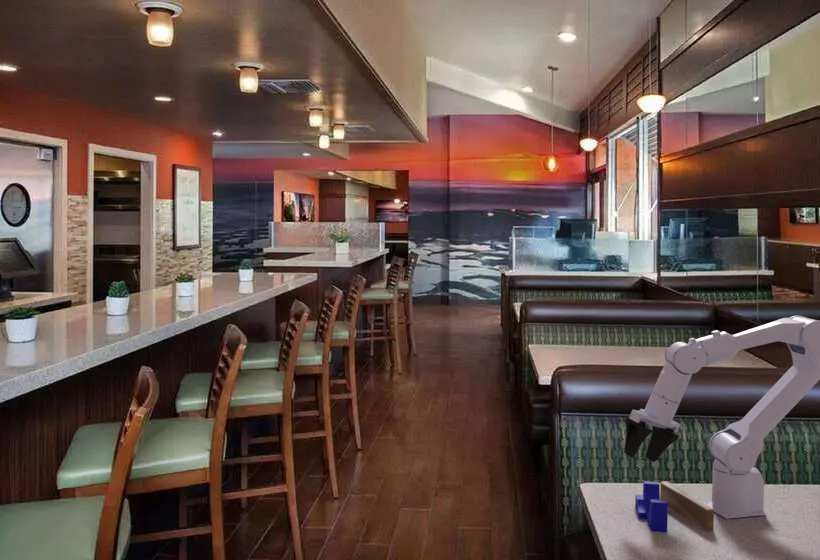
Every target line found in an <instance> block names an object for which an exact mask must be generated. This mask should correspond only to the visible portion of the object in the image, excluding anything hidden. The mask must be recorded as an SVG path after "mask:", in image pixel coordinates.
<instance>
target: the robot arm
mask: <svg viewBox="0 0 820 560" xmlns="http://www.w3.org/2000/svg"><path fill="white" fill-rule="evenodd" d="M710 333H711V334H710V335H705V336H702V337H699V338H694V337H691V338H688V342H683V341H677V342H674V343H672V344H671V345H670V346H669V347H668V348H667V349H664V359H665V360H664V361H665V362H664V365H663V368H662V369H661V371H660V373H659V376H658V378H657V381H656V382H655V385H654V387H653V389H652V391H651V394H650V396H649V398H648V401H647V403H646V405H645V408H644V409H643V408H640V409H639V410H636V409H632V410H631V413H630V414H629V416H626V418H625V419H624V420H625V421H624V422H625V429H626V432H625V433H626V434H625V435H626V437H625V443H624V449H623V453H624V454H625V455H626V456H629V457H630V458H634V457H636V454H637V453H638V451H639V449H640V448H641V445H642V444H643V442H644V441H645V440H646V439H647V437H648V436H649V435H650V434H651V435H650V436H651V437H650V441H649V444H648V448H647V450H646V454H645V458H646V459H647V460H649V461H651V462H652V463H653V462H654V463H655V462H657V460H658V459H659V458H660V457H661V455H663V453H664V452H665V450H666V449H667V448H668V447H669V446H670V445H673V443H675V442H676V441H678V439H679V438H680V436H679V435H678V434H677V433H678V432H679V429H680V427H681V424H680V423H678V422H676V421H675V420H674V418H675V414H676V412H677V411H678V409H679V406H680V404H681V401H682V398H683V397H684V394H685V392H686V389H687V387H688V385H689V383H690V380H691V379H692V376H693V374H696V373H698V372H699V371H700V370H701V369H702V368H704V367H708V366H710V365H714V364H718V363H720V362H724V361H725V362H726V361H729V360H733V359H734V358H735V357H736V355H737V354H738V352H739V351H742V350H746V349H749V348H755V347H759V346H764V345H767V344H772V343H775V342H781V343H786V346H787V347H788V349H789V351H790V353H791V359H792V366H791V367H790V368H788V370H787V371H786V372H785V373H784V374H783V375H782V376H781V377H780V378H779V380H778V381H777V382H776V383H774V385H772V387H771V388H770V389H769V390H768V391H767V392H766V393H765V394H764V395H763V396H762V398H760V400H759V401H758V402H756V404H755V405H754V406H753V407H752V408H751V409H750V410H749V411H748V412H747V413H746V414H744V415H745V416H744V417H743V418H741V419H740V420H738V421H735V422H732V423H730V424H729V425H728V426H727V427H725V429H722V430H720V431H717V432H716V433H714V434H712V435H711V437H710V439H709V443H708V448H709V451H710V453H711V454H712V456H713V458H714V460H713V461H712V477H711V478H712V479H711V480H712V481H711V482H712V488H711V491H712V492H711V501H706V502H705V501H704V502H703V503H705V504H707V505H708V506H710V507H712V508H713V509H714V513H715V514H716V515H717V514H718V515H719V516H721V517H723V518H724V519H727V520H728V519H739V518H746V517H747V518H748V517H749V518H750V517H756V516H757V517H759V516H766V515H767V512H766V511H764V505H765V502H764V499H765V481H764V478H763V474H762V473H761V472H760V471H759V469H758V468H757V467H755V465H756V463H757V460H758V457H759V455H760V454H761V453H763V452H762V451H763V450H764V439H765V438H766V437H767V436H768V435H769V434H770V432H772V431H773V429H775V427H776V426H777V425H778V424H779V423H780V422H781V421H782V420H783V419H784V418H785V417H786V415H788V414H789V413H790V412H791V411H792V409H793V408H794V407H795V406H796V405H797V404H798V403H799V402H800V401H801V400H802V399H803V398H804V397H805V396H806V395H807V394H808V393H809V392H810V390H812V388H813V387H814V386H816V385H817V383H818V382H819V381H820V320H818V319H813V318H808V317H806V316H803V315H793V316H790V317H782V318H780V319H779V318H778V319H777V320H774V321H771V322H767V323H765V324H762V325H759V326H756V327H753V328H749V329H747V330H743V331H740V332H738V333H735V334H734V333H733V334H730V333H728V332H727V331H720V330H717V329H715V330H713V331H710ZM647 425H649V426H651V428H648V427H647ZM651 429H652V430H651Z"/></svg>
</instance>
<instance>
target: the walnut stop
mask: <svg viewBox="0 0 820 560" xmlns="http://www.w3.org/2000/svg"><path fill="white" fill-rule="evenodd" d="M659 484H660V485H659V491H660V500H667V502H668V508H670V509H671V510H673V511H674V512H676V513H678V514H679V515H680V516H682V517H683V518H685V519H687V520H688V521H690V523H691V522H692V523H693V524H695V525H696V526H698V527H700V528H701V529H702V530H703V531H706V532H712V531H714V521H715V520H714V519H715V518H714V517H715V516H714V514H715V512H714V509H713V508H712V507H710V506H708V505H707V504H705V503H704V502H703V501H701V500H699V498H697V497H695V496H693V495H691V494H690V493H688V492H687V491H684V490H683V489H681V488H679V487H677V486H675V485H674V484H673V483H671V482H669V481H668V480H666V481H660V482H659Z"/></svg>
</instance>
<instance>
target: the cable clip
mask: <svg viewBox="0 0 820 560" xmlns="http://www.w3.org/2000/svg"><path fill="white" fill-rule="evenodd" d="M642 482H643V484H642V486H643V487H642V494H635V499H634V500H635V501H634V502H635V507H634V508H635V511H636V514H637V518H638V519H639V520H646V521H647V525H648V524H649V525H648V528H649V530H650V532H652V533H653V532H654V533H663V534H664V533H668V517H669V516H668V515H669V514H668V513H669V507H668V502H667V500H660V482H659V481H650V480H649V481H647V480H645V481H644V480H643V481H642Z"/></svg>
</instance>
